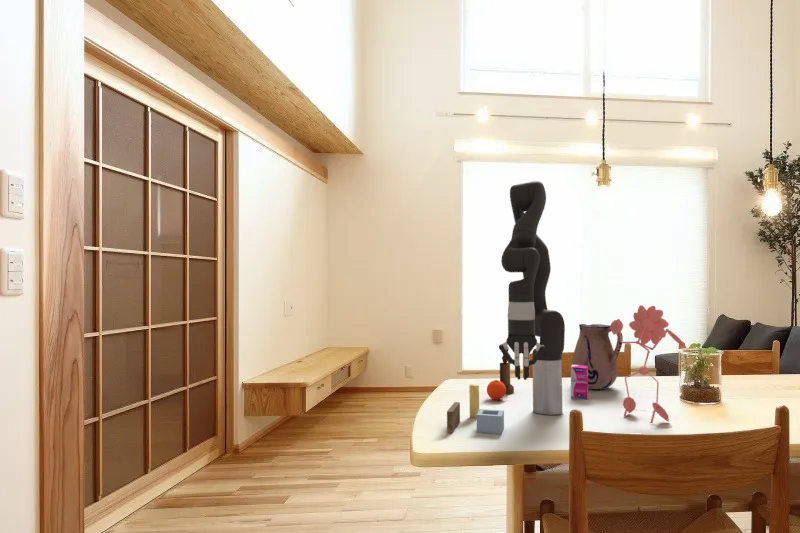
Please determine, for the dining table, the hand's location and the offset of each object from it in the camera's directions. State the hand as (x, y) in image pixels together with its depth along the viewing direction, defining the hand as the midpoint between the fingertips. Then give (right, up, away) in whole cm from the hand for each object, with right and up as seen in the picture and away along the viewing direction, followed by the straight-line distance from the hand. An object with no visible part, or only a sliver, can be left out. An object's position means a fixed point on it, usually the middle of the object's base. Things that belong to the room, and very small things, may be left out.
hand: (522, 378), depth 150 cm
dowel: (-11, -16, +16) cm, 25 cm away
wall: (-19, -15, +5) cm, 25 cm away
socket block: (-9, -15, +2) cm, 18 cm away
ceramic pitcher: (+44, -17, +60) cm, 76 cm away
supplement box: (+31, -16, +44) cm, 56 cm away
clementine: (0, -16, +41) cm, 44 cm away
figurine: (+44, -15, +15) cm, 49 cm away
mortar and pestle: (+6, -17, +53) cm, 56 cm away
